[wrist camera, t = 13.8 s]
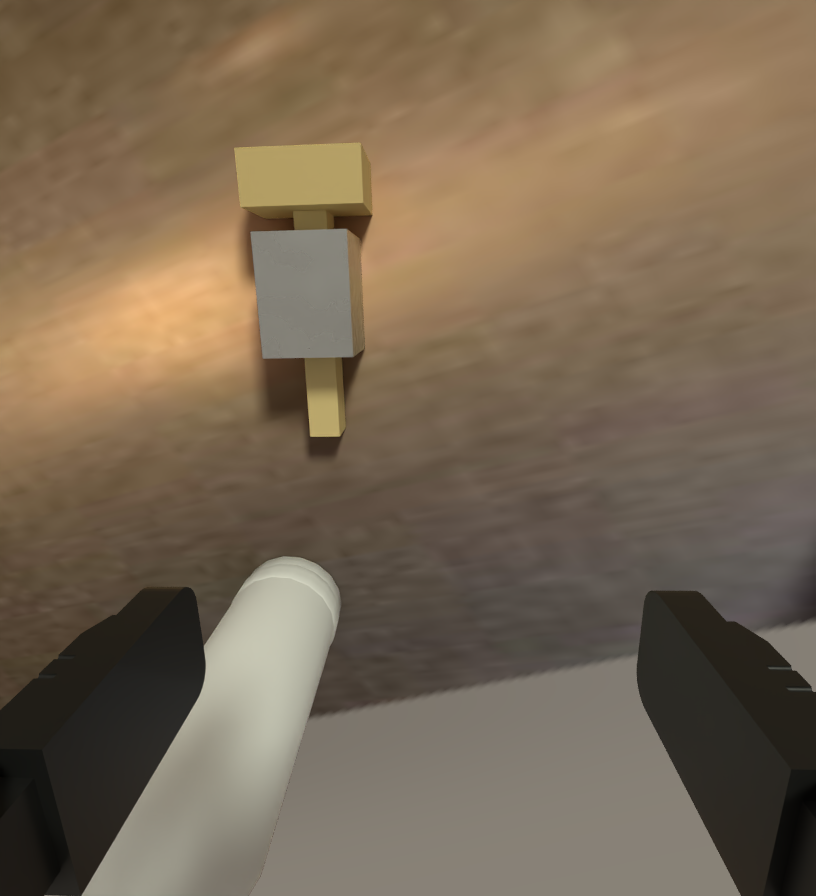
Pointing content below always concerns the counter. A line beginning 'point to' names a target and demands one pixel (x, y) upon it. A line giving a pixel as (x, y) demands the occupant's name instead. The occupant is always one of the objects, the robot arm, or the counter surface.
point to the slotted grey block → (309, 293)
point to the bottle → (231, 745)
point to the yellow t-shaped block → (313, 208)
